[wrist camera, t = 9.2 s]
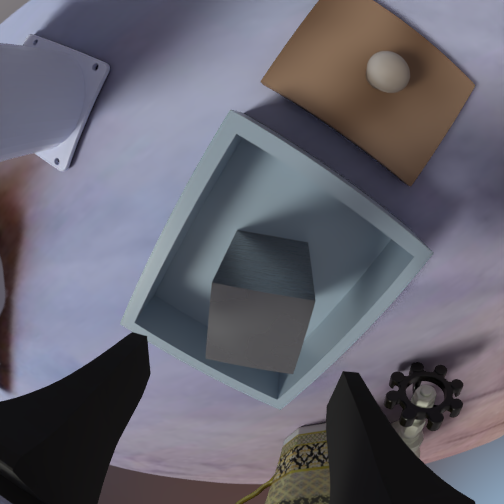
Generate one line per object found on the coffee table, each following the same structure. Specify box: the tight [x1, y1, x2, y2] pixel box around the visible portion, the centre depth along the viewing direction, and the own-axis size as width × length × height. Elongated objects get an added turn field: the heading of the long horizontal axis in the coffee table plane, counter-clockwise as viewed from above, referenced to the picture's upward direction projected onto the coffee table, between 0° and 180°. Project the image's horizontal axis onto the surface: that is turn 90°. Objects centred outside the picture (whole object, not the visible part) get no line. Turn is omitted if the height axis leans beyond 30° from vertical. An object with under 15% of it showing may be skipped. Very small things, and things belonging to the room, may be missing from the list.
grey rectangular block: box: [205, 230, 316, 374], centre depth 16 cm, size 4×4×6 cm
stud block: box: [261, 0, 475, 187], centre depth 13 cm, size 10×8×4 cm
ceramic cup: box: [236, 423, 330, 504], centre depth 22 cm, size 13×10×10 cm
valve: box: [384, 362, 463, 458], centre depth 21 cm, size 7×7×12 cm
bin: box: [120, 110, 433, 410], centre depth 18 cm, size 12×14×4 cm
